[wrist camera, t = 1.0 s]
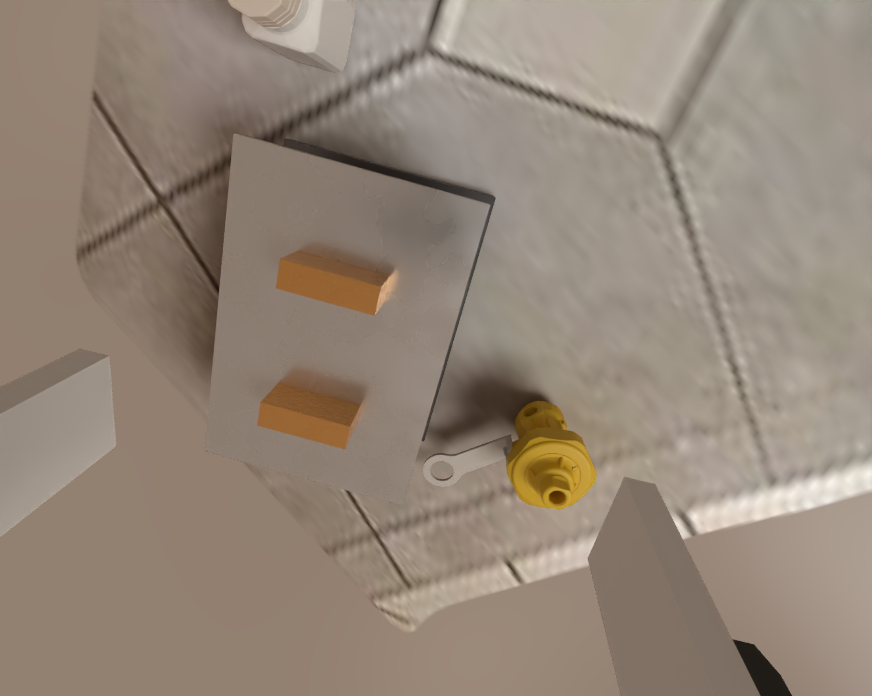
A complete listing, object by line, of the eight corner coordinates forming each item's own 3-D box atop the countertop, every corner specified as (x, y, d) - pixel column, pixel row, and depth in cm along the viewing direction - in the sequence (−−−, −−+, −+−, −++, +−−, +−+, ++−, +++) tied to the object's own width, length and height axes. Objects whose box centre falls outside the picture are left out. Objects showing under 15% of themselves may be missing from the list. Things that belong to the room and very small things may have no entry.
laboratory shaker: (290, 139, 31) (194, 126, 21) (495, 196, 32) (502, 212, 21) (257, 388, 38) (173, 472, 28) (425, 434, 39) (404, 535, 28)
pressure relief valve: (581, 431, 37) (615, 521, 28) (443, 480, 40) (432, 576, 31) (556, 372, 36) (582, 446, 26) (414, 427, 38) (392, 511, 29)
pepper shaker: (285, 58, 30) (202, 13, 21) (295, -17, 28) (210, -99, 19) (346, 76, 30) (290, 39, 21) (360, 3, 28) (304, -71, 20)
